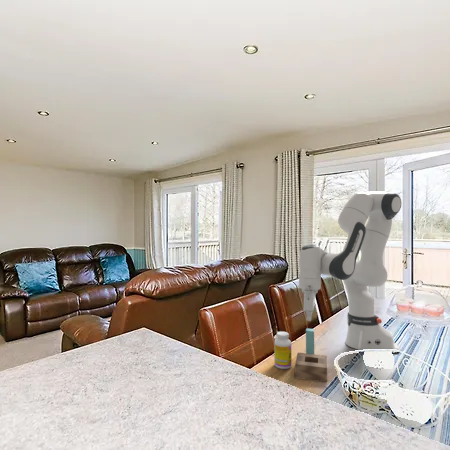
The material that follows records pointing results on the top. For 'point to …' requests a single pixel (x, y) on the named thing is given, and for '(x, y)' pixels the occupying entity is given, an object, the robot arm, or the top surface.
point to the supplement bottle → (282, 351)
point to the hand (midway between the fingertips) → (309, 317)
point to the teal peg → (309, 341)
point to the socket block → (311, 367)
